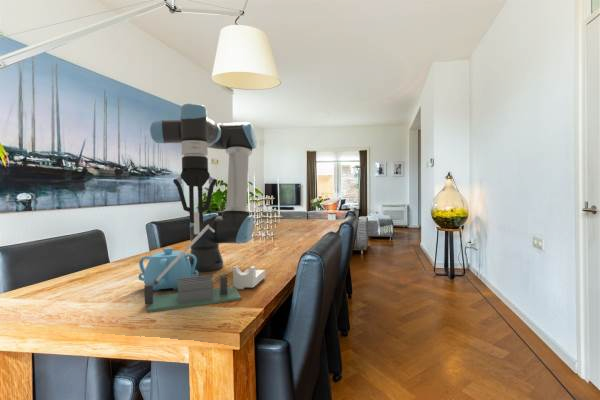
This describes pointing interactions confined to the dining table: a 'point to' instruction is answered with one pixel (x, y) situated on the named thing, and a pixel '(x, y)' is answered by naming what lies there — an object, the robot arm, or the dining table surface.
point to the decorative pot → (161, 262)
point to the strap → (182, 253)
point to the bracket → (247, 277)
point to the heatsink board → (174, 300)
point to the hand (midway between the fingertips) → (196, 233)
